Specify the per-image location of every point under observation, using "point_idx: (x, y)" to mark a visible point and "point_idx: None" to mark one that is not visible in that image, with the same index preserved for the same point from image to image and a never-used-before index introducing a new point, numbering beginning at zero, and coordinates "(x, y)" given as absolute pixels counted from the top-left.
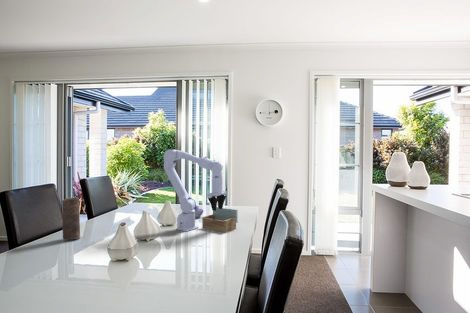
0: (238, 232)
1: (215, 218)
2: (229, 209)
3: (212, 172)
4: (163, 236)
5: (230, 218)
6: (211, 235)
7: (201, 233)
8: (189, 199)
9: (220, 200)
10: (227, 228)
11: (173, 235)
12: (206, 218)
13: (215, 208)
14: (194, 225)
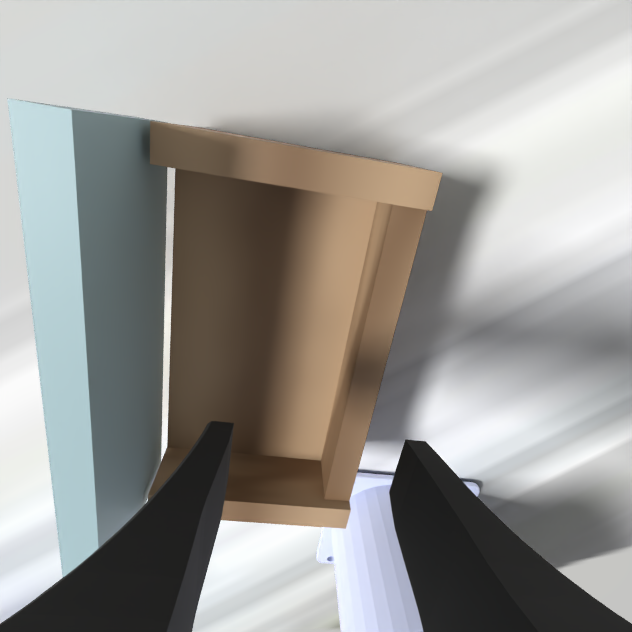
0: (345, 7)
1: (156, 446)
2: (86, 309)
3: None
4: (627, 532)
5: (150, 238)
6: (544, 252)
7: (498, 364)
8: None
9: (183, 629)
10: (381, 160)
11: (595, 499)
12: (345, 478)
13: (450, 469)
14: (385, 501)
